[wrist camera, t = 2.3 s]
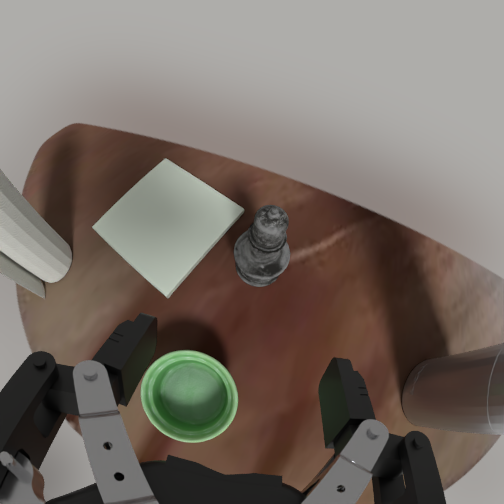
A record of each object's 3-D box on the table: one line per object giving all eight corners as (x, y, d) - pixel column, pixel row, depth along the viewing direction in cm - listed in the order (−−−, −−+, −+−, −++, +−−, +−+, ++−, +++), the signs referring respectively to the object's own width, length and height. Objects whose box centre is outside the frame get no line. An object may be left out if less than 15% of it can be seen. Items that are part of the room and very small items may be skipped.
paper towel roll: (61, 232, 32) (-26, 123, 12) (80, 261, 30) (-23, 148, 11) (28, 267, 29) (-73, 180, 10) (45, 299, 28) (-76, 217, 8)
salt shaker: (249, 233, 34) (261, 167, 23) (292, 257, 33) (323, 200, 22) (223, 272, 32) (221, 217, 21) (268, 299, 31) (291, 257, 20)
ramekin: (226, 441, 24) (225, 453, 20) (144, 417, 24) (131, 424, 20) (245, 364, 28) (248, 364, 24) (163, 342, 28) (153, 337, 24)
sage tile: (244, 212, 35) (244, 209, 34) (168, 298, 30) (166, 296, 29) (166, 161, 38) (165, 158, 37) (94, 230, 32) (92, 227, 32)
